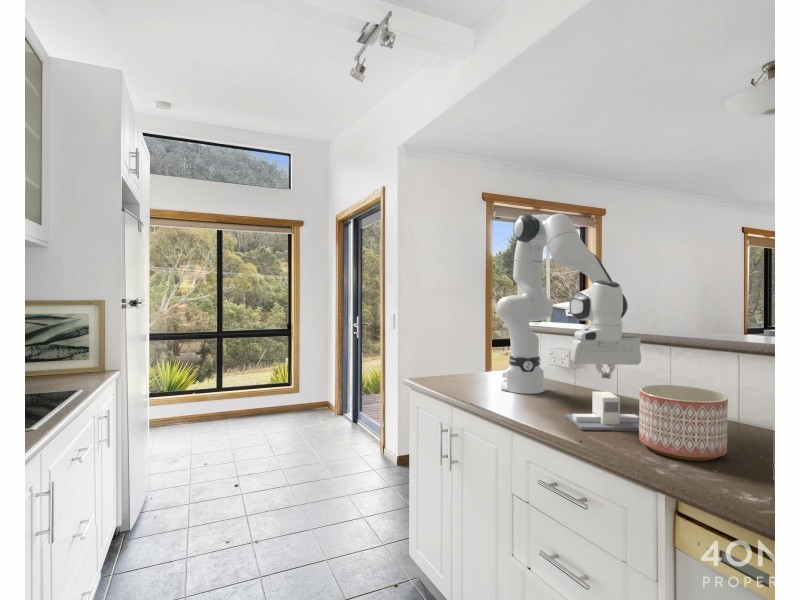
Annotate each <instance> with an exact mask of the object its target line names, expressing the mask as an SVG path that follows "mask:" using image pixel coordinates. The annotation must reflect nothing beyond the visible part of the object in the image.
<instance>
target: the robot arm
mask: <svg viewBox="0 0 800 600" xmlns="http://www.w3.org/2000/svg"><path fill="white" fill-rule="evenodd" d="M512 230H513V231H512V232H513V235H514V238H515V239H516V240H517V241H516V245H515V251H514V255H513V269H512V270H513V273H512V279H513V281H514V283H515V284H517V285H518V286H519V288H520V292H521V294H517V295H516V294H514V295H513V294H511V295H507V296H503V297H501V298H499V300H498V302H497V303H496V307H495V309H496V315H497V316H498V318H499V319H500V320H501V321H502V322H503V324H505V326H506V328H507V330H508V334H509V340H510V355H509V359H508V363H509V365H508V367H507V369H506V371H503V372H502V378H503V379H504V380H501V384H500V390H501V391H504V392H505V391H506V392H510V393H515V394H526V395H530V394H531V395H533V394H540V393H543V392H547V391H549V388H548V387H547V386H545V375H544V370H543V369H542V368H541V367H540V365H541V359H540V358H541V357H540V355H539V354H540V353H539V351H540V350H539V349H540V347H539V345H540V340H539V335H537V334H536V333H535V332H533V330H532V328H531V326H530V322H531V323H532V322H541V321H544V320H547V319H549V318H550V317H551V316H552V313H553V311H554V306H553V302H552V301H551V299H550V298H549V297H548V296H547V294H546V292H545V290H544V286H543V279H542V277H543V276H542V275H543V274H542V273H543V255H544V254H543V253H544V248H545V247H546V246H547V248H548V251H549V253H550V256H551V258H552V259H553V261H554V262H555V263H556V264H557V265H560V266H561V267H564V268H568V269H572V270H575V271H578V272H580V273H582V274H583V275H585V276H586V277H588V279H589V280H590V282H591V286H590V287H588V288H586V289H584V290H581V291H577V292H575V293H574V294H573V295H572V296H571V298H570V301H569V311H570V313H571V315H572V316H573V318H575V320H577V321H578V320H580V321H590V326H589V327H585V328H582V329H579V330H576V331H574V336H573V337H574V338H575V339H574V340H573V342H572V344H571V349H570V361H572V362H573V363H574V364H576V365H595V369H597V371H598V378H599V379H601V380H605V379H606V380H611V379H612V373H613V372H614V370H615V369H616V365H624V366H625V365H627V366H628V365H634V366H635V365H636V366H637V365H639V364H640V363H641V362H642V355H641V348H640V347H641V341H642V340H641V338H640V336H638V335H637V334H635V333H623V321H622V319H623V317H624V316H625V314H626V313H627V310H628V307H629V305H628V300H627V298H626V296H625V294H623V289H622V286H621V285H620V284H619V283H618V282H615V281H613V279H612V278H611V277H610V275H609V272H607V270H606V268H605V266H604V264H603V263H602V262H601V260H600V259H599V257H598V256H597V255H596V254H595V253H594V252H592V251H591V250H590V249H589V248H588V247H587V245H586V244H585V243H584V241H583V240H582V239H581V237H580V234H579V232H578V230H577V228H576V226H575V225H574V223H573V221H572V220H571V219H570V218H569V216H568V215H566V214H564V213H555V214H545V213H544V214H543V213H542V214H521V215H519V216H518V217H517V218H516V220H515V221H514V223H513V228H512ZM604 365H607V367H608V368H607V370H606V371H603V369H602V368H604V367H603V366H604Z"/></svg>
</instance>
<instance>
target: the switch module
mask: <svg viewBox="0 0 800 600" xmlns="http://www.w3.org/2000/svg"><path fill="white" fill-rule="evenodd" d="M591 399H592V401H591V403H592V404H591V408H592V410H591V411H592V413H591V414H597V415H599V416H600V417H601V423H602V424H620V414H621V397H619V396H617V395H615V394H614V393H612V392H610V391H592V398H591Z"/></svg>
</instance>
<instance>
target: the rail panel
mask: <svg viewBox="0 0 800 600" xmlns="http://www.w3.org/2000/svg"><path fill="white" fill-rule="evenodd" d="M564 417H565V418H566V419H567V418H568V419H569V420H570V421H569V420H568V419H567V420H568V421H569V422H571V423H572V422H573V423H574V424H575V425H576V426H577V427H576V426H575V425H574V424H573V423H572V424H573V425H574V426H575V427H576V428H578V427H579V428H580V429H581V430H611V431H613V432H615V431H617V432H639V415H637V414H635V413H633V414H632V413H631V414H630V413H620V424H602V423H601V417H600V416H599V415H597V414H592V413H564ZM579 428H578V429H579ZM580 429H579V430H580ZM581 430H580V431H581ZM611 431H610V432H611Z"/></svg>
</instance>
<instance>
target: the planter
mask: <svg viewBox="0 0 800 600" xmlns="http://www.w3.org/2000/svg"><path fill="white" fill-rule="evenodd" d="M638 396H639V403H638V404H639V407H638V408H639V410H638V417H639V431H638V439H639V441H640V442H641V443H642V444H643V445H645V446H646V447H648V448H649V449H650V450H652V451H653V452H655V453H658V454H660V455H663V456H666V457H669V458H673V459H679V460H684V461H685V460H686V461H695V462H699V461H700V462H701V461H702V462H703V461H704V462H705V461H712V460H715V459H717V458H719V457H723V456H725V455H726V454H727V453H728V410H729V409H728V405H729V404H728V403H729V401H728V399H729V398H728V396H726V395H725V394H724V393H721V392H718V391H715V390H714V391H713V390H710V389H705V388H699V387H694V386H687V385H685V386H684V385H674V384H650V385H644V386H641V387H639V395H638Z"/></svg>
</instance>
